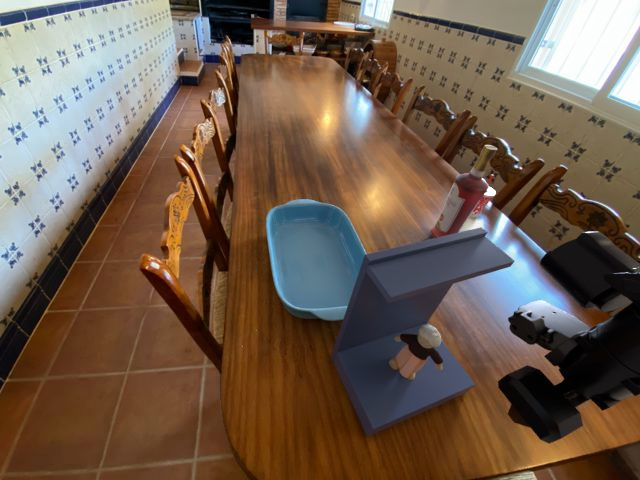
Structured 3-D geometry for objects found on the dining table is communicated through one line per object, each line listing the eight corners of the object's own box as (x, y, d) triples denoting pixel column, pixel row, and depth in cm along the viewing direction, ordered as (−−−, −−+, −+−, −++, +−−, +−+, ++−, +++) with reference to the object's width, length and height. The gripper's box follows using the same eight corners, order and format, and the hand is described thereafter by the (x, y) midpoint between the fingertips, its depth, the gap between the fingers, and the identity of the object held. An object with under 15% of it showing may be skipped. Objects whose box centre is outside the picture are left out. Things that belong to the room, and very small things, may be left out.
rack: (465, 393, 52) (572, 300, 34) (367, 437, 46) (435, 351, 28) (417, 327, 62) (481, 227, 44) (330, 356, 56) (364, 254, 38)
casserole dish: (386, 330, 60) (396, 310, 56) (278, 344, 57) (280, 324, 52) (335, 216, 88) (340, 196, 84) (261, 220, 85) (261, 200, 80)
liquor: (424, 228, 86) (467, 139, 69) (448, 230, 87) (498, 141, 69) (433, 246, 81) (483, 154, 63) (459, 248, 81) (516, 156, 63)
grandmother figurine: (380, 367, 51) (403, 328, 43) (386, 348, 53) (409, 308, 45) (426, 392, 48) (460, 356, 40) (430, 371, 51) (463, 333, 43)
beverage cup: (483, 213, 94) (507, 175, 86) (478, 221, 91) (502, 183, 82) (463, 204, 97) (484, 167, 89) (457, 212, 94) (478, 174, 85)
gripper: (603, 267, 38) (530, 330, 48) (495, 305, 32) (438, 367, 42) (723, 350, 30) (605, 404, 40) (608, 419, 24) (505, 462, 34)
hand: (536, 405), depth 39 cm, fingers open, 9 cm apart
